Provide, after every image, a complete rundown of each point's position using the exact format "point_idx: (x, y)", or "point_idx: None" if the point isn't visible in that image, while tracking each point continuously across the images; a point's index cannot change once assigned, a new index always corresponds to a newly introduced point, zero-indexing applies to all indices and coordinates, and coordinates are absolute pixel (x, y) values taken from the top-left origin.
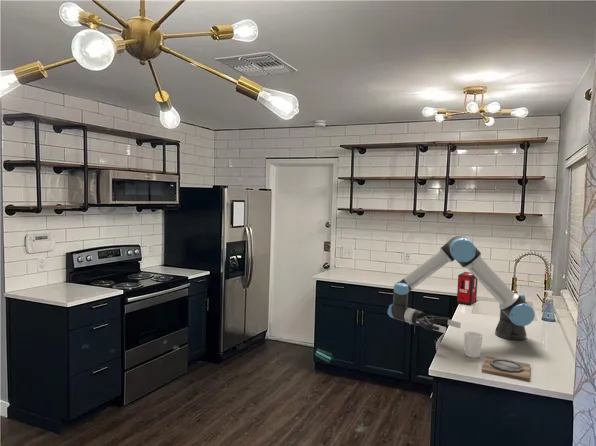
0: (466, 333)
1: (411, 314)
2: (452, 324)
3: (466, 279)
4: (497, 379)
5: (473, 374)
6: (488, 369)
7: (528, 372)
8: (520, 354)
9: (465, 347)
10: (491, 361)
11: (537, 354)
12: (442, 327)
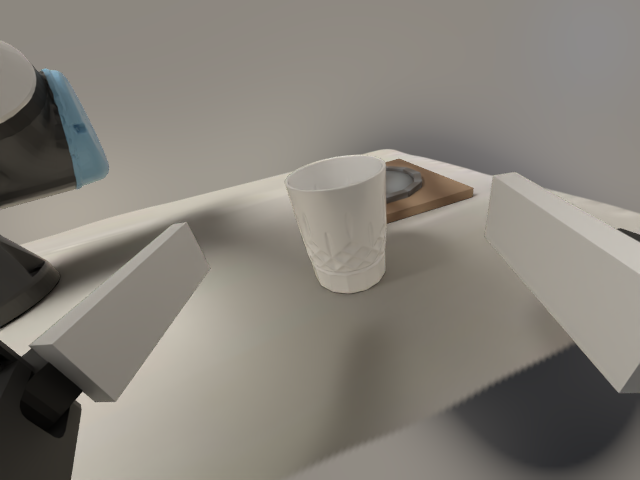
0: (326, 197)
1: None
2: (155, 312)
3: None
4: (468, 174)
5: None
6: (452, 184)
7: None
8: (221, 225)
9: (381, 245)
10: (392, 195)
11: (197, 216)
12: (540, 194)
